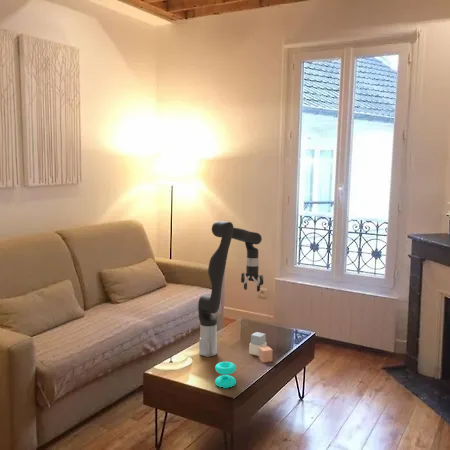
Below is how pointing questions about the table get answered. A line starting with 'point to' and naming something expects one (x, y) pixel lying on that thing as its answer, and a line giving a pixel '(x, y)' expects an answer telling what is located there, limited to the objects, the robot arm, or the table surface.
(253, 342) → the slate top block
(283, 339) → the table surface
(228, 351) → the table surface
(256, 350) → the cream base block
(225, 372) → the donuts
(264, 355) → the terracotta block
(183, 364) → the table surface
